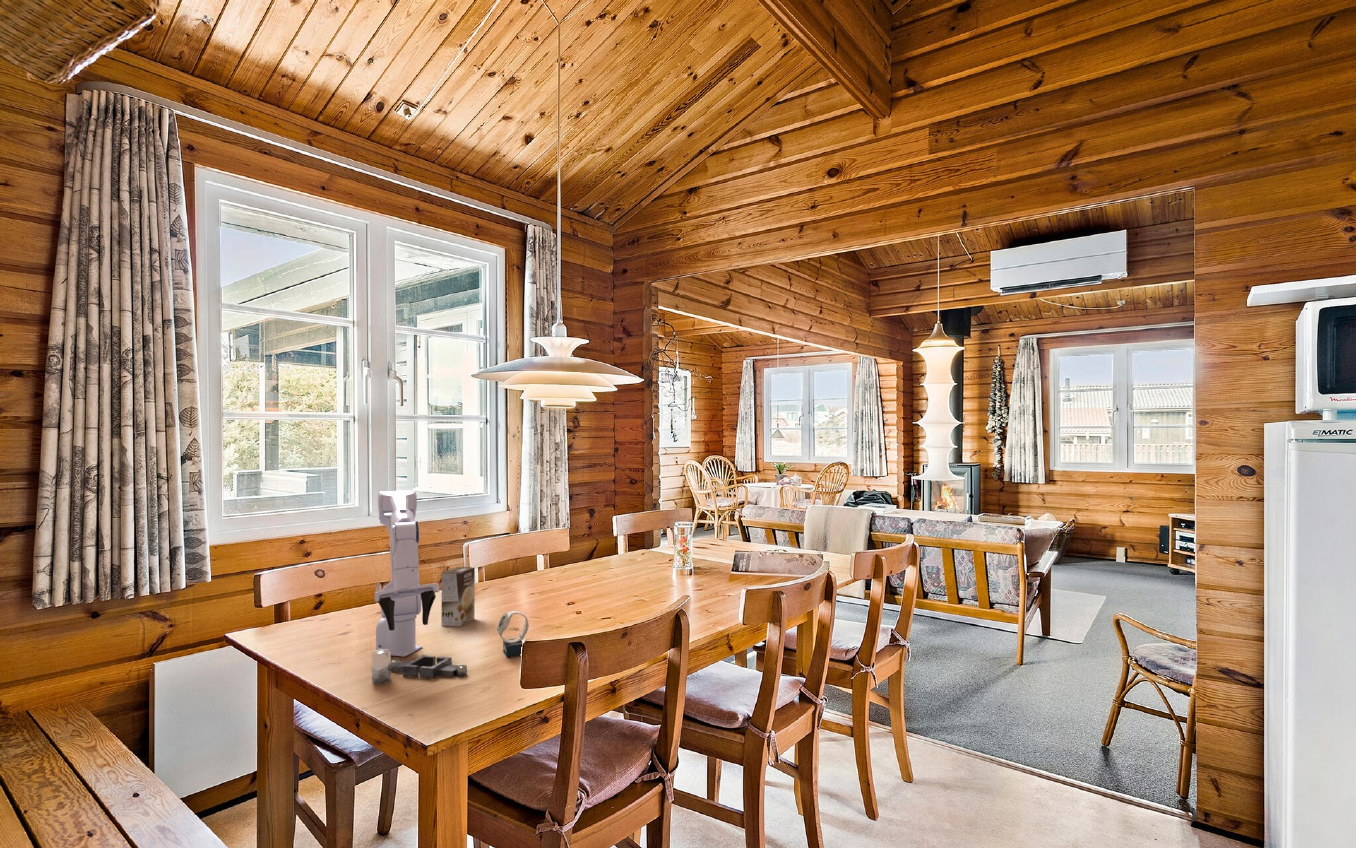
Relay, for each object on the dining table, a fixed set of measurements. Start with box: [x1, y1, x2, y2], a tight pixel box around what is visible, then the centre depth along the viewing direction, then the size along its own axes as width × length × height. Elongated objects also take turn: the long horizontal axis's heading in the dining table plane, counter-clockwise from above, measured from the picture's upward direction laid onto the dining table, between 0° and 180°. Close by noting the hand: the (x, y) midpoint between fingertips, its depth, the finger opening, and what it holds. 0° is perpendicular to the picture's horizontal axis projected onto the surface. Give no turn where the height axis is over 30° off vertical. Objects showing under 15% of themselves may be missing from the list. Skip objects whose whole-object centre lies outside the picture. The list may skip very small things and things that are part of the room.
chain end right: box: [419, 656, 468, 680], centre depth 167 cm, size 10×8×2 cm
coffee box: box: [440, 566, 476, 627], centre depth 211 cm, size 9×6×16 cm
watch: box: [496, 610, 530, 659], centre depth 182 cm, size 6×8×11 cm
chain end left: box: [391, 654, 437, 678], centre depth 170 cm, size 10×8×2 cm
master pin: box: [371, 649, 392, 686], centre depth 162 cm, size 4×4×7 cm
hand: (408, 627), depth 164 cm, fingers open, 7 cm apart
